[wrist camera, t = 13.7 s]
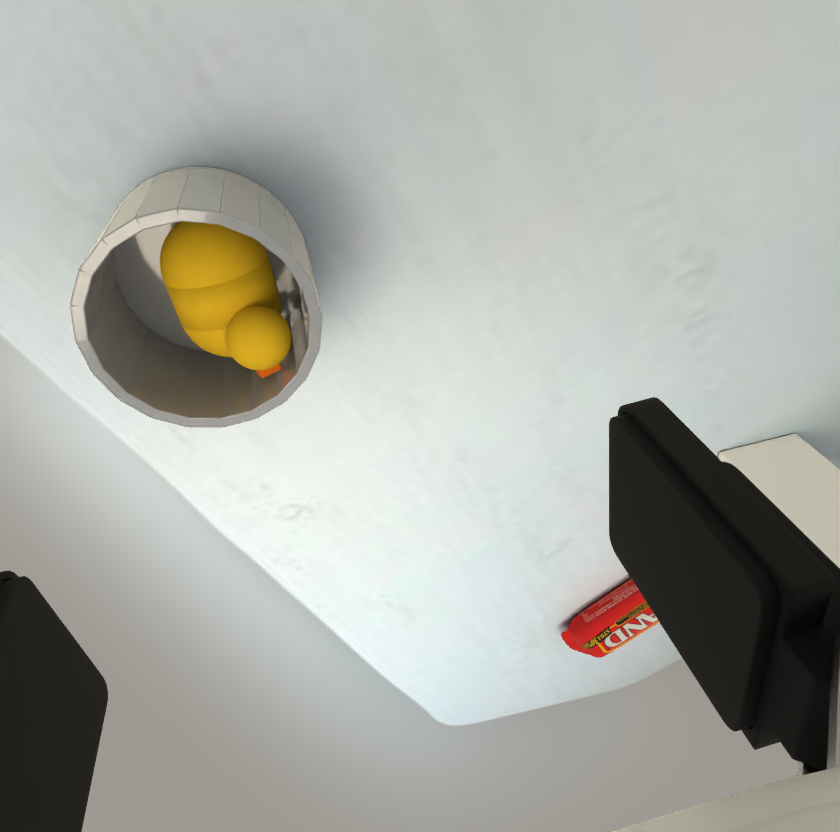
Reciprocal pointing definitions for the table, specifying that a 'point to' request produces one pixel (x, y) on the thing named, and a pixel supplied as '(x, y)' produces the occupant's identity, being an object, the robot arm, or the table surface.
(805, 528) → the milk
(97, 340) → the cup
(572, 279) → the table surface
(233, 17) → the table surface
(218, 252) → the duck
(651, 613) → the candy bar
